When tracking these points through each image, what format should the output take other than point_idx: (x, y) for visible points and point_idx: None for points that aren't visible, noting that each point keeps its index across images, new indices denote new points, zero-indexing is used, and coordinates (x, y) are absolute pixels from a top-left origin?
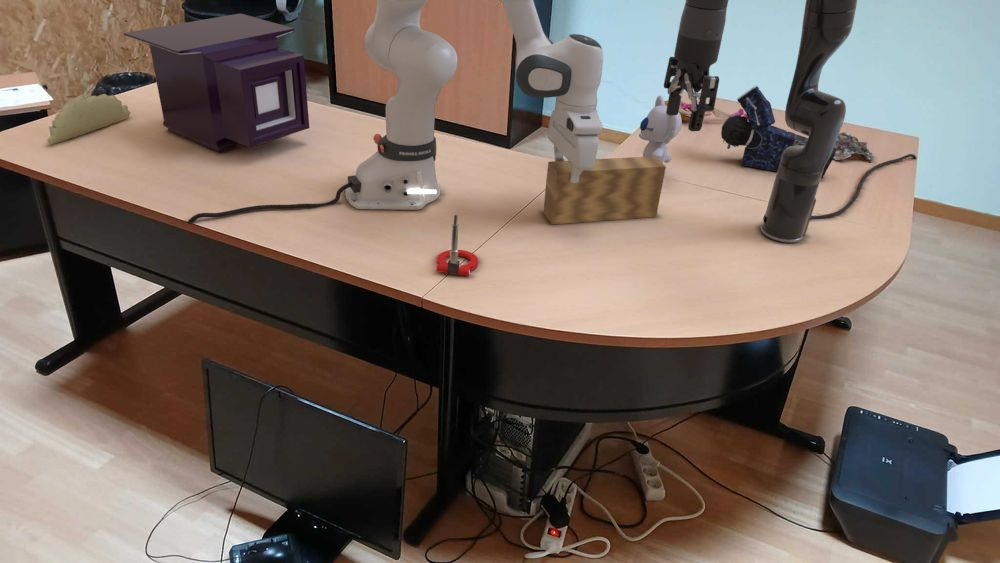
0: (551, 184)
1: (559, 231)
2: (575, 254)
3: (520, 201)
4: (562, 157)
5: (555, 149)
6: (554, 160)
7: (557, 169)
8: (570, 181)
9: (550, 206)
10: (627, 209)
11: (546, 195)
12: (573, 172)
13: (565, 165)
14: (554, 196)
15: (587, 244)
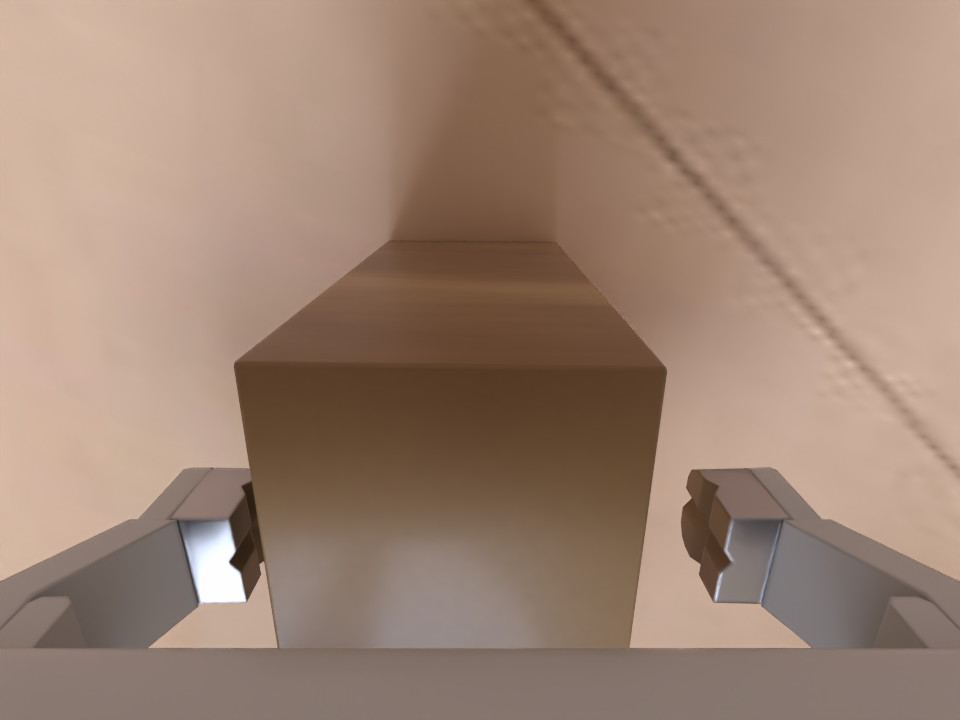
0: (444, 297)
1: (301, 260)
2: (20, 254)
3: (759, 141)
4: (765, 600)
5: (902, 602)
6: (791, 486)
7: (346, 401)
8: (216, 468)
9: (428, 257)
10: None
11: (538, 265)
12: (41, 562)
13: (476, 550)
14: (341, 278)
15: (143, 362)
